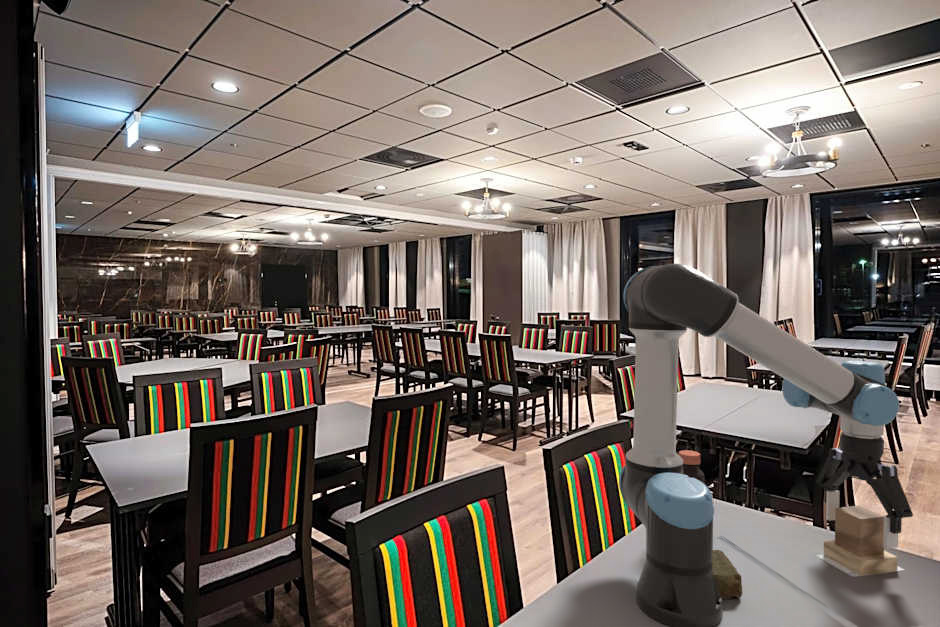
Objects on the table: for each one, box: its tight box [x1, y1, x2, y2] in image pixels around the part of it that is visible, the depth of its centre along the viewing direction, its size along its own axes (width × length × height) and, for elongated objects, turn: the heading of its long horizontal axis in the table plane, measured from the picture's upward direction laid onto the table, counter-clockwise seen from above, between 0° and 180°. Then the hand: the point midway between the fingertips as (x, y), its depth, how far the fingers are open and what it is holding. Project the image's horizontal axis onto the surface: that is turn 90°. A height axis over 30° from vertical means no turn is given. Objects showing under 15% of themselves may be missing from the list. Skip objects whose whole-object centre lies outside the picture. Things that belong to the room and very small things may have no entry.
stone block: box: [712, 549, 743, 600], centre depth 108 cm, size 6×12×5 cm, turn 174°
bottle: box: [678, 449, 705, 484], centre depth 130 cm, size 7×7×20 cm
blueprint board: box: [816, 554, 905, 578], centre depth 114 cm, size 13×9×1 cm
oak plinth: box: [823, 539, 898, 577], centre depth 114 cm, size 9×9×3 cm
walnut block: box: [834, 505, 885, 557], centre depth 114 cm, size 6×6×8 cm
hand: (859, 532), depth 114 cm, fingers open, 13 cm apart
